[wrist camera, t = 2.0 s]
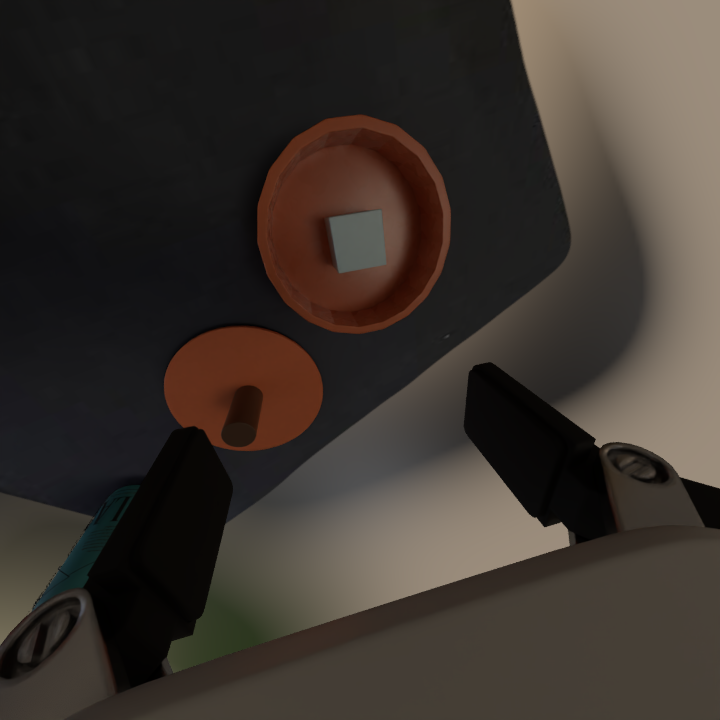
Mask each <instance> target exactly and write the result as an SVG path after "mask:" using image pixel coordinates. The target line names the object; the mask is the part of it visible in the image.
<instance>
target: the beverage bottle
mask: <svg viewBox="0 0 720 720" xmlns="http://www.w3.org/2000/svg"><path fill="white" fill-rule="evenodd" d="M139 487H140V485H130V486H125V487H122V488H120V489H118V490H116V491H115V492H114V493H112V494H111V495H109V497H108V498H107V500H105V503H104V504H102V505H101V506H102V507H100V508H101V509H100V508H99V512H98V511H97V512H98V513H97V512H96V513H97V515H96V516H95V518H94V519H93V520H92V522H91V523H90V525H89V524H88V525H89V526H88V525H87V527H86V529H87V530H86V529H85V533H84V534H83V536H82V537H81V539H80V540H79V542H78V543H77V544H76V546H75V548H74V549H73V551H71V554H70V555H68V558H67V560H66V561H65V563H64V564H63V565H62V566H61V568H60V569H59V568H58V570H59V571H58V573H57V574H56V573H55V574H56V576H55V577H54V579H53V580H52V579H51V580H52V582H51V584H50V583H49V587H47V589H46V591H45V592H44V594H42V597H41V598H40V597H39V600H38V599H37V601H38V603H37V601H36V602H35V604H36V606H35V607H33V610H35V609H36V608H37V607H38V606H39V605H41V604H42V603H44V602H45V601H47V600H48V599H50V598H51V597H53V596H55V595H57V594H59V593H61V592H63V591H66V590H68V589H73V588H78V587H79V588H83V587H84V585H85V583H86V582H87V580H88V578H89V577H88V576H87V574H88V572H89V571H90V569H91V567H92V566H93V564H94V562H95V561H96V559H97V557H98V556H99V554H100V552H101V551H102V549H103V547H104V546H105V544H106V542H107V540H108V539H109V537H110V535H111V534H112V532H113V530H114V529H115V527H116V525H117V524H118V522H119V520H120V519H121V517H122V515H123V514H124V512H125V510H126V509H127V507H128V505H129V504H130V502H131V500H132V499H133V497H134V495H135V494H136V492H137V490H138V489H139ZM96 513H95V514H96ZM93 517H94V516H93ZM33 610H32V611H33Z"/></svg>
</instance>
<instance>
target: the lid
mask: <svg viewBox="0 0 720 720" xmlns="http://www.w3.org/2000/svg"><path fill="white" fill-rule="evenodd" d="M164 393H165V399H166V401H167V404H168V407H169V409H170V411H171V413H172V414H173V416H174V417H175V419H176V420H177V421H178V422H179V423H180V424H181V425H182V426H183V428H186V427H190V426H196V427H197V428H198V429H203V430H204V431H205V433H206V435H207V437H208V438H209V440H210V442H211V444H212V445H215V446H218V447H221V448H225V449H231V450H240V451H255V450H263V449H268V448H272V447H275V446H279V445H281V444H284V443H286V442H288V441H290V440H292V439H294V438H295V437H297V436H298V435H300V434H301V433H302V432H303V431H304V430H306V429H307V428H308V427H309V425H310V424H311V423H312V422H313V420H314V419H315V417H316V416H317V414H318V412H319V409H320V406H321V403H322V397H323V385H322V380H321V376H320V373H319V370H318V368H317V366H316V364H315V362H314V361H313V359H312V358H311V357H310V355H309V354H308V353H307V352H306V351H305V350H304V349H303V348H302V347H301V346H299V345H298V344H297V343H296V342H294V341H292V340H291V339H289V338H288V337H286V336H284V335H282V334H279V333H277V332H274V331H271V330H268V329H264V328H260V327H254V326H228V327H221V328H217V329H213V330H210V331H207V332H205V333H203V334H200V335H198V336H197V337H195V338H193V339H192V340H190V341H189V342H188V343H186V344H185V345H184V346H183V347H182V348H181V349H180V350H179V351H178V352H177V353H176V354H175V356H174V357H173V359H172V360H171V362H170V363H169V366H168V368H167V371H166V374H165V379H164Z"/></svg>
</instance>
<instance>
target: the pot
mask: <svg viewBox="0 0 720 720" xmlns="http://www.w3.org/2000/svg"><path fill="white" fill-rule="evenodd" d="M376 209H382V218H383V230H384V241H385V253H386V265H382V266H377V267H371V268H366V269H361V270H355V271H350V272H345V273H338V272H337V270H336V269H335V268H334V267H333V264H332V259H331V253H330V248H329V242H328V237H327V231H326V226H325V220H324V218H325V217H331V216H337V215H343V214H349V213H356V212H362V211H368V210H376ZM450 210H451V209H450V205H449V201H448V197H447V193H446V189H445V185H444V181H443V178H442V176H441V174H440V172H439V171H438V169H437V167H436V166H435V164H434V163H433V161H432V159H431V158H430V156H429V154H428V153H427V151H426V149H425V148H424V147H423V146H422V145H421V144H420V143H418V142H417V141H416V140H415V139H413V138H412V137H411V136H410V135H408V134H407V133H406V132H405V131H404V130H402V129H401V128H400V127H399V126H397V125H395V124H392V123H389V122H385V121H382V120H379V119H376V118H372V117H369V116H366V115H361V114H360V115H352V116H344V117H335V118H327V119H325V120H323V121H321V122H319V123H318V124H316V125H314V126H313V127H311V128H309V129H308V130H306V131H304V132H302V133H301V134H299V135H297V136H296V137H294V139H292V140H291V142H290V143H289V144H288V145H287V147H286V148H285V149H284V151H283V152H282V153H281V154H280V156H279V157H278V158H277V160H276V161H275V162H274V164H273V165H272V166H271V167H270V169H269V172H268V175H267V178H266V181H265V184H264V187H263V190H262V193H261V196H260V199H259V202H258V206H257V242H258V246H259V250H260V253H261V256H262V260H263V263H264V266H265V270H266V273H267V276H268V278H269V279H270V281H271V282H272V284H273V285H274V287H275V288H276V290H277V291H278V293H279V294H280V296H281V297H282V299H283V300H284V302H286V304H287V305H288V306H290V307H291V308H292V309H293V310H295V311H296V312H297V313H298V314H299V315H301V316H302V317H303V318H304V319H306V320H307V321H308V322H310V323H313V324H315V325H318V326H320V327H323V328H325V329H328V330H330V331H333V332H342V333H354V334H362V333H366V332H371V331H376V330H380V329H384V328H386V327H388V326H390V325H392V324H393V323H395V322H397V321H399V320H401V319H403V318H404V317H406V316H408V315H409V314H410V313H411V312H412V311H413V310H414V309H415V308H416V307H417V306H418V305H419V304H420V303H421V302H422V301H423V300H424V299H425V298H426V297H427V296H428V294H429V293H430V291H431V289H432V288H433V286H434V284H435V282H436V281H437V279H438V277H439V276H440V274H441V272H442V269H443V265H444V262H445V258H446V255H447V252H448V248H449V245H450V224H451V211H450Z"/></svg>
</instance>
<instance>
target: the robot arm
mask: <svg viewBox="0 0 720 720" xmlns="http://www.w3.org/2000/svg"><path fill="white" fill-rule="evenodd" d="M464 419H465V420H464V429H465V432H466V434H467V435H468V437H469V438H470V439H471V441H472V442H473V443H474V444H475V446H476V447H477V448H478V449H479V451H480V452H481V453H482V455H483V456H484V457H485V458H486V460H487V461H488V462H489V463H490V465H491V466H492V467H493V469H494V470H495V471H496V472H497V474H498V475H499V476H500V478H501V479H502V480H503V481H504V483H505V484H506V485H507V487H508V488H509V489H510V490H511V492H512V493H513V494H514V495H515V497H516V498H517V499H518V501H519V502H520V503H521V504H522V506H523V507H524V508H525V509H526V511H527V512H528V513H529V514H530V515H531V516H532V517H534V518H535V517H537V519H538V520H539V521H540V522H541V524H542V525H543V526H544V527H547V526H551V525H554V524H557V523H560V522H562V523H563V524H564V525H565V526H566V528H567V529H568V532H569V543H570V546H569V547H566V548H562V549H558V550H555V551H552V552H548V553H546V554H542V555H539V556H536V557H532V558H530V559H526V560H523V561H520V562H516V563H513V564H510V565H507V566H504V567H501V568H497V569H494V570H491V571H488V572H484V573H481V574H478V575H475V576H472V577H469V578H465V579H462V580H459V581H456V582H453V583H450V584H447V585H443V586H440V587H437V588H434V589H431V590H428V591H424V592H421V593H418V594H415V595H412V596H408V597H405V598H403V599H399V600H396V601H393V602H390V603H387V604H383V605H380V606H377V607H374V608H371V609H368V610H365V611H362V612H358V613H356V614H352V615H349V616H346V617H343V618H340V619H337V620H333V621H330V622H327V623H324V624H321V625H318V626H315V627H312V628H309V629H306V630H302V631H299V632H296V633H293V634H290V635H287V636H284V637H281V638H278V639H275V640H272V641H269V642H265V643H262V644H259V645H256V646H253V647H250V648H247V649H244V650H241V651H238V652H235V653H232V654H228V655H225V656H222V657H219V658H217V659H214V660H211V661H208V662H205V663H202V664H199V665H196V666H193V667H191V668H188V669H185V670H182V671H179V672H176V673H173V671H172V669H171V666H170V664H169V662H168V659H167V654H168V651H169V648H170V644H171V641H174V640H177V639H180V638H184V637H187V636H190V635H193V631H194V627H195V623H196V620H197V619H198V618H200V617H201V616H202V614H203V612H204V609H205V605H206V600H207V596H208V592H209V588H210V584H211V580H212V576H213V571H214V568H215V563H216V559H217V555H218V551H219V547H220V543H221V539H222V535H223V530H224V526H225V522H226V518H227V514H228V510H229V506H230V501H231V497H232V493H233V485H232V482H231V480H230V478H229V476H228V474H227V472H226V470H225V469H224V467H223V465H222V463H221V461H220V459H219V457H218V455H217V453H216V452H215V450H214V448H213V446H212V444H211V442H210V440H209V438H208V437H207V435H206V433H205V431H204V430H203V429H198V428H197V427H196V426H190V427H186V428H181V429H177V430H174V431H173V432H172V433H171V435H170V437H169V438H168V440H167V442H166V443H165V445H164V447H163V448H162V450H161V452H160V453H159V455H158V457H157V458H156V460H155V462H154V463H153V465H152V467H151V468H150V470H149V472H148V473H147V475H146V477H145V478H144V480H143V482H142V483H141V485H140V487H139V489H138V490H137V492H136V494H135V495H134V497H133V499H132V500H131V502H130V504H129V505H128V507H127V509H126V510H125V512H124V514H123V515H122V517H121V519H120V520H119V522H118V524H117V525H116V527H115V529H114V530H113V532H112V534H111V535H110V537H109V539H108V540H107V542H106V544H105V546H104V547H103V549H102V551H101V552H100V554H99V556H98V557H97V559H96V561H95V562H94V564H93V566H92V567H91V569H90V571H89V572H88V574H87V576H88V577H89V578H88V580H87V582H86V583H85V585H84V587H83V588H79V587H78V588H73V589H68V590H66V591H63V592H61V593H59V594H57V595H55V596H53V597H51V598H50V599H48V600H47V601H45V602H44V603H42V604H41V605H39V606H38V607H37V608H36V609H35V610H33V611H32V612H31V613H30V614H29V615H27V616H26V617H25V618H24V619H23V620H22V621H21V622H20V623H19V624H18V625H17V626H16V627H15V628H14V629H13V630H12V631H11V632H10V634H9V635H8V636H7V638H6V639H5V640H4V641H3V643H2V644H1V645H0V720H720V489H719V488H716V487H712V486H709V485H705V484H702V483H698V482H695V481H691V480H688V479H684V478H681V477H679V475H678V474H677V473H676V471H675V470H674V469H673V467H672V466H671V465H670V464H669V463H667V462H666V461H665V460H664V459H663V458H661V457H659V456H658V455H656V454H654V453H653V452H651V451H648V450H646V449H644V448H642V447H638V446H635V445H632V444H627V443H620V442H615V443H614V442H613V443H607V444H605V445H603V446H602V447H601V448H599V447H597V446H596V445H594V442H595V440H596V439H595V438H594V437H592V436H591V435H590V434H588V433H587V432H585V431H584V430H583V429H581V428H580V427H579V426H577V425H576V424H574V423H573V422H572V421H570V420H569V419H568V418H566V417H565V416H564V415H562V414H561V413H560V412H558V411H557V410H556V409H554V408H553V407H551V406H550V405H549V404H547V403H546V402H545V401H543V400H542V399H540V398H539V397H538V396H537V395H535V394H534V393H532V392H531V391H530V390H528V389H527V388H526V387H524V386H523V385H522V384H520V383H519V382H518V381H516V380H515V379H513V378H512V377H510V376H509V375H508V374H507V373H505V372H504V371H503V370H501V369H500V368H499V367H497V366H496V365H494V364H493V363H491V362H488V363H483V364H479V365H475V366H474V367H473V369H472V370H471V371H470V372H469V376H468V387H467V397H466V408H465V418H464Z"/></svg>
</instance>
